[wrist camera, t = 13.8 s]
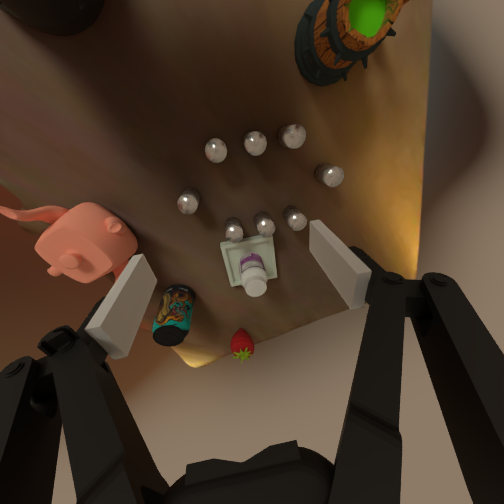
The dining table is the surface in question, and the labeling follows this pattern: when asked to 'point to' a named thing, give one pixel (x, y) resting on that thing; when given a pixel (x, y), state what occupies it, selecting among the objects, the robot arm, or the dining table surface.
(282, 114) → the dining table surface
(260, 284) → the pill bottle
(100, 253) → the teapot
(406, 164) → the dining table surface
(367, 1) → the mug
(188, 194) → the posts
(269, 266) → the tray
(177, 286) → the beverage can
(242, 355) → the strawberry
